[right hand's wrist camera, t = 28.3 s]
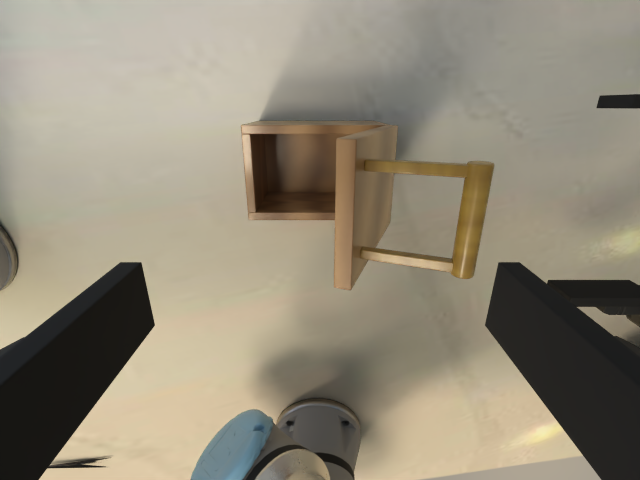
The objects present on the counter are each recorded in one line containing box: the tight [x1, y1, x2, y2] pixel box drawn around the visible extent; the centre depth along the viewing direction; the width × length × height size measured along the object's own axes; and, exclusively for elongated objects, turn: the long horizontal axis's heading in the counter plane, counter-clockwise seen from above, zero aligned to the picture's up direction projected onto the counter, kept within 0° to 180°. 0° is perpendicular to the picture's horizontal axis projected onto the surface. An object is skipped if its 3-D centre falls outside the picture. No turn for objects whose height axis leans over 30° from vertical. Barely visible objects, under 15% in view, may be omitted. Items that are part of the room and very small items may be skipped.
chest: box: [241, 121, 388, 220], centre depth 39 cm, size 14×10×10 cm
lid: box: [334, 125, 494, 290], centre depth 26 cm, size 15×10×9 cm
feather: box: [48, 457, 112, 468], centre depth 64 cm, size 2×28×2 cm
